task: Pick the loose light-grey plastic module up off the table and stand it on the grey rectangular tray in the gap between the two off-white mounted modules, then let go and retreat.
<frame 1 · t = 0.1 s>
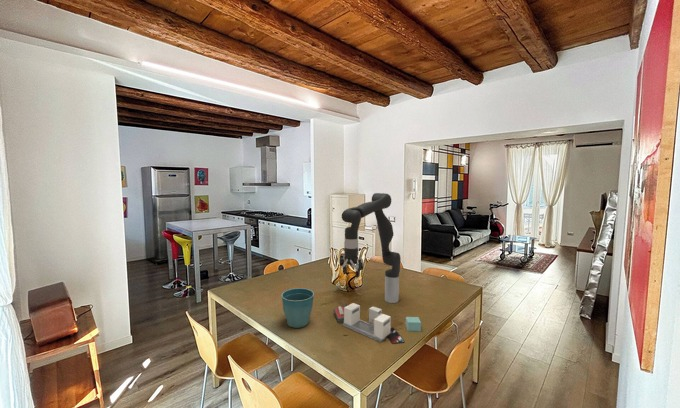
hand: (351, 275, 156), 29 cm above the table, fingers open, 8 cm apart
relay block: (406, 323, 157), point 2 cm above the table, tilted 90°
smartphone: (392, 336, 150), on the table
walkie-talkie: (341, 313, 172), point 1 cm above the table, touching module a, grey rectangular tray
grey rectangular tray: (366, 330, 155), on the table
module a: (351, 323, 162), resting on grey rectangular tray
flower pot: (298, 323, 163), on the table
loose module: (375, 322, 164), on the table
module b: (382, 336, 149), resting on grey rectangular tray
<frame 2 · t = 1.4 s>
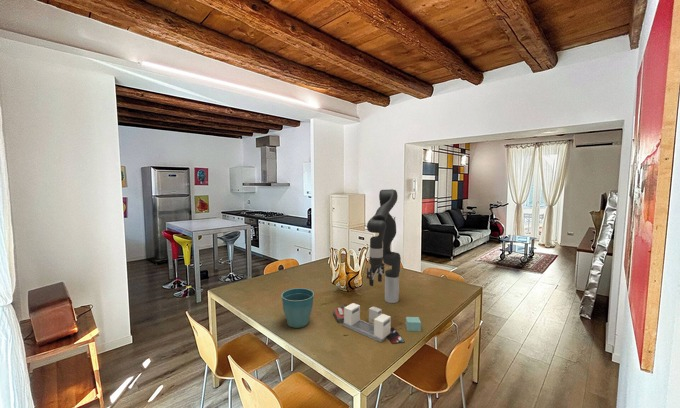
hand: (375, 283, 161), 23 cm above the table, fingers open, 8 cm apart
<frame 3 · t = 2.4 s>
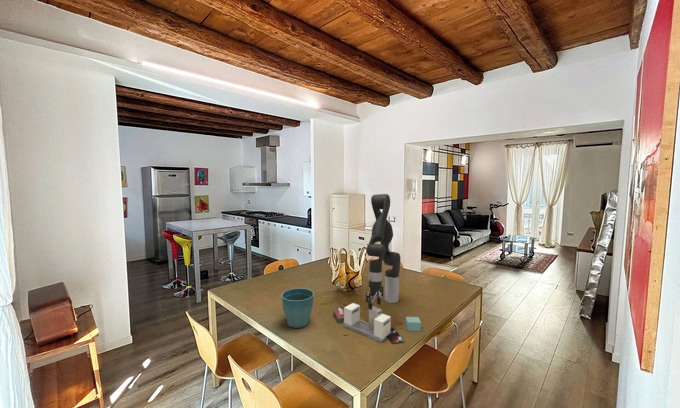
hand: (374, 306, 163), 9 cm above the table, fingers open, 8 cm apart
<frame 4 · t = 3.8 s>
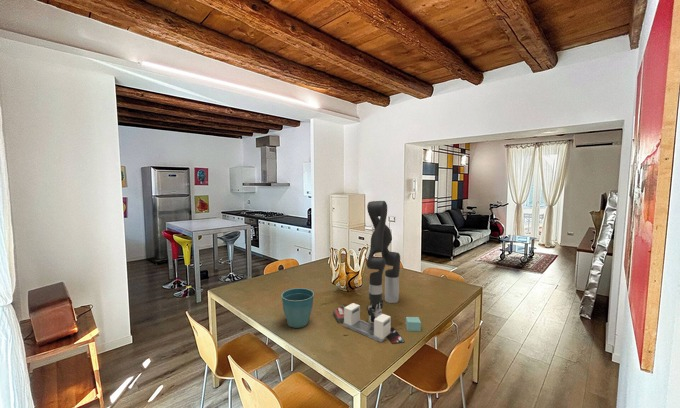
hand: (375, 320, 163), 1 cm above the table, fingers closed on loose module, 4 cm apart
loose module: (375, 322, 164), on the table, touching gripper
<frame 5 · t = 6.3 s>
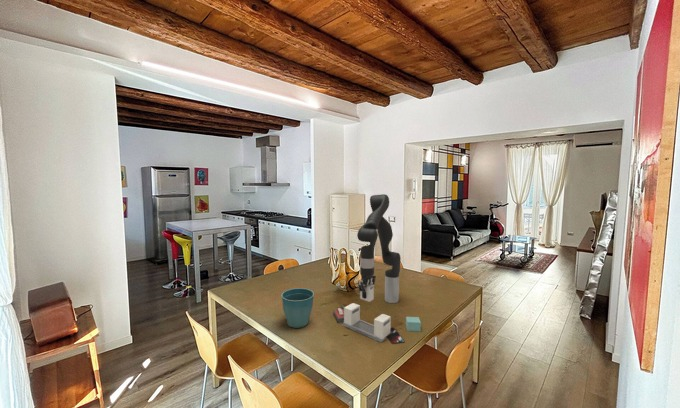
hand: (366, 296, 154), 19 cm above the table, fingers closed on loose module, 4 cm apart
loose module: (366, 299, 154), point 17 cm above the table, touching gripper
when the fingers open (4 cm above the table, at t = 8.6 s): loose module drops 1 cm, resting on grey rectangular tray.
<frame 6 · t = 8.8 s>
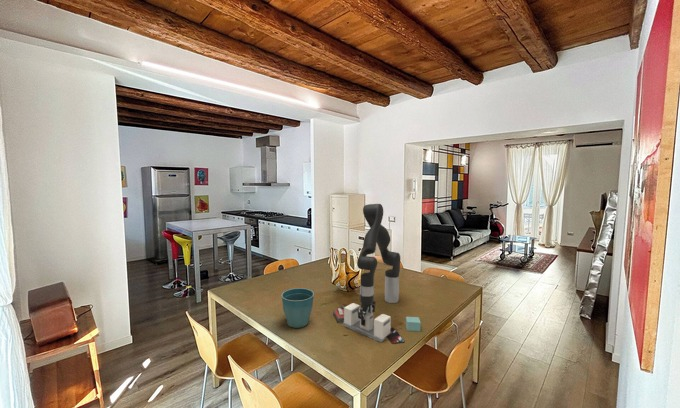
hand: (366, 322, 155), 4 cm above the table, fingers open, 5 cm apart
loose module: (366, 327, 155), point 1 cm above the table, touching grey rectangular tray
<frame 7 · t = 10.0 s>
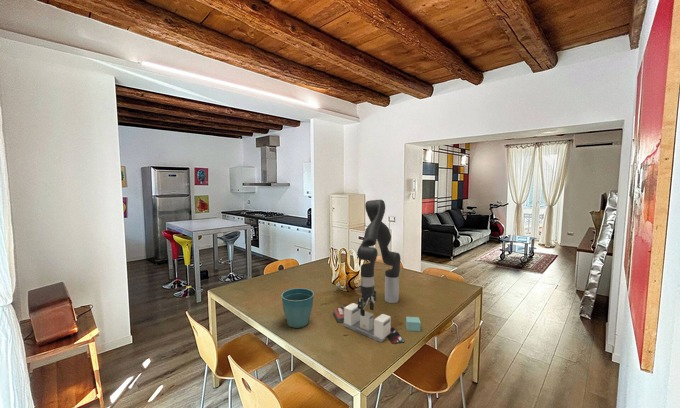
hand: (367, 312, 154), 10 cm above the table, fingers open, 8 cm apart
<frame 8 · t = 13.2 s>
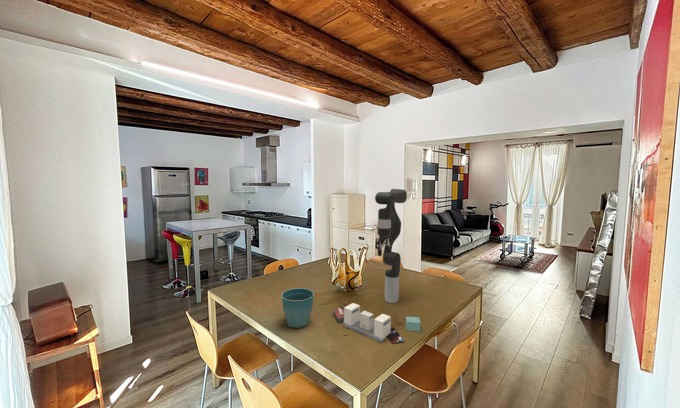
hand: (383, 254, 166), 38 cm above the table, fingers open, 8 cm apart
at the end: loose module inside the target area on the grey rectangular tray (0.1 cm from its centre), point 1.2 cm above the grey rectangular tray's base; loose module tilted 0°; the gripper is holding nothing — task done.
